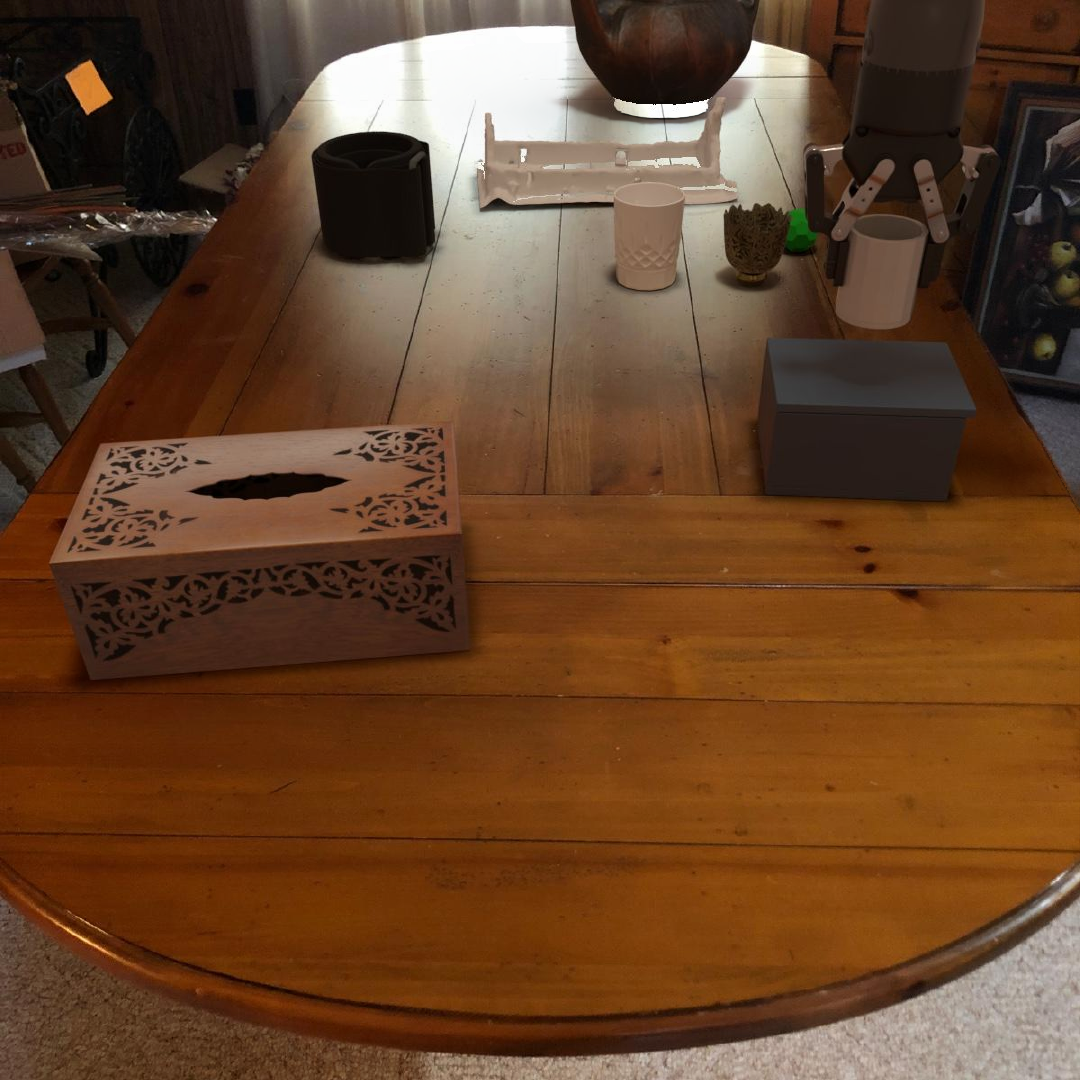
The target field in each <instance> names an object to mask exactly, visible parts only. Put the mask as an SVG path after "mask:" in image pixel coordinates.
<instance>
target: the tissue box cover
mask: <svg viewBox="0 0 1080 1080" xmlns="http://www.w3.org/2000/svg"><path fill="white" fill-rule="evenodd" d="M455 431H456V430H455V420H442V421H441V420H440V421H427V422H425V421H424V422H411V423H395V424H379V425H378V424H377V425H364V426H350V427H349V426H348V427H336V428H335V427H333V428H332V427H331V428H322V429H321V428H320V429H319V428H318V429H303V430H302V429H301V430H287V431H286V430H285V431H273V432H271V431H269V432H255V433H240V434H226V435H212V436H210V435H208V436H196V437H180V438H166V439H165V438H162V439H151V440H150V439H149V440H148V439H147V440H132V441H119V442H116V441H115V442H103V443H99V446H98V448H97V451H96V453H95V456H94V457H93V460H92V462H91V465H90V467H89V469H88V471H87V474H86V476H85V479H84V482H83V483H82V485H81V487H80V490H79V493H78V495H77V497H76V500H75V502H74V504H73V507H72V509H71V511H70V513H69V516H68V518H67V521H66V523H65V525H64V527H63V530H62V532H61V535H60V536H59V539H58V541H57V544H56V546H55V549H54V550H53V553H52V555H51V558H50V560H49V562H48V565H49V567H50V571H51V573H52V576H53V579H54V582H55V584H56V587H57V590H58V592H59V595H60V598H61V601H62V604H63V607H64V609H65V612H66V615H67V618H68V620H69V624H70V626H71V629H72V632H73V634H74V637H75V640H76V643H77V646H78V648H79V651H80V654H81V657H82V660H83V663H84V665H85V668H86V671H87V673H88V676H89V680H90V681H96V680H99V681H100V680H111V679H122V678H135V677H148V676H158V675H159V676H160V675H161V676H162V675H171V674H172V675H173V674H186V673H199V672H210V671H223V670H236V669H247V668H248V669H249V668H260V667H273V666H274V667H275V666H287V665H288V666H289V665H299V664H311V663H313V664H314V663H323V662H325V663H327V662H336V661H337V662H339V661H348V660H349V661H350V660H351V661H352V660H361V659H373V658H387V657H401V656H411V655H413V656H414V655H425V654H426V655H427V654H437V653H450V652H451V653H453V652H462V651H463V652H464V651H471V641H470V626H469V625H470V624H469V613H468V597H467V584H466V568H465V557H464V543H463V541H464V540H463V529H462V514H461V501H460V489H459V488H460V487H459V485H460V484H459V473H458V460H457V459H458V458H457V446H456V445H457V444H456V433H455Z"/></svg>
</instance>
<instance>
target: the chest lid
mask: <svg viewBox="0 0 1080 1080" xmlns="http://www.w3.org/2000/svg"><path fill="white" fill-rule="evenodd" d="M766 348H767V355H768V361H769V368H770V374H771V381H772V387H773V394H774V400H775V407H776V411H777V412H801V413H832V414H863V415H894V416H925V417H956V418H966V419H975V418H976V414H977V411H978V409H977V407H976V404H975V402H974V400H973V398H972V396H971V394H970V391H969V389H968V387H967V385H966V382H965V380H964V378H963V376H962V374H961V371H960V369H959V366H958V364H957V362H956V360H955V358H954V356H953V353H952V351H951V349H950V347H949V344H948V343H947V342H943V341H942V342H940V341H904V340H903V341H902V340H869V339H867V340H865V339H833V338H832V339H829V338H828V339H827V338H796V337H795V338H792V337H790V338H789V337H767V338H766V342H765V349H766Z"/></svg>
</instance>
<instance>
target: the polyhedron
mask: <svg viewBox="0 0 1080 1080" xmlns="http://www.w3.org/2000/svg"><path fill="white" fill-rule="evenodd" d="M788 211H789V215H790V214H791V218H792V219H791V223H790V227H789V231H788V235H787V239H786V244H785V247H784V248H786V249H788V250H789V251H790V252H791V253H802V252H805V251H807V250H809V249H810V248H812V247H813V246H815V243H816V240H817V238H818V235H819V233H820V232H818V233H813V232H811V231H810V230H809V228H808V222H807V220H806V217H805V208H794V209H792V210H788ZM811 245H812V246H811ZM808 246H809V247H808Z"/></svg>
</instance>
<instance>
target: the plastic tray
mask: <svg viewBox="0 0 1080 1080" xmlns="http://www.w3.org/2000/svg"><path fill="white" fill-rule="evenodd" d="M726 98H727V97H726V96H719V97H716V98H715V103H714V107H712V109H711V110H710V111H709V112H708V114H707V117H706V119H705V122H704V128H703V131H702V132H701V134H700V136H699V138H698V139H695V140H690V141H677V142H676V141H672V140H671V141H670V140H664V141H657V142H654V143H633V144H623V143H620V142H615V141H600V140H593V141H586V142H581V141H576V142H575V141H550V140H546V141H545V140H509V139H508V140H496V136H495V126H494V124H493V121H492V112H485V114H484V124H485V128H484V160H483V159H481V158H480V159H479V160H478V161H477V162H483V161H485V163H484V165H482V163H481V165H482V166H483V167H484V171H485V179H484V174H483V173H484V171H483V170H481V169H478V168H477V167H476V170H477V173H476V174H477V180H476V182H477V189H478V198H479V199H478V202H479V204H478V205H479V209H482V208H484V207H486V206H487V205H490V203H491V202H493V201H494V200H497V199H500V200H502V201H504V202H505V203H507V204H510V205H513V206H523V205H544V204H564V203H565V204H566V203H571V204H572V203H591V202H592V203H593V202H594V203H595V202H598V203H614V194H594V195H587V196H581V197H579V198H568V197H565V196H546V197H532V198H528V197H531V196H545V195H556V194H570V196H571V195H577V194H578V193H585V192H586V193H589V192H593V193H594V192H608V193H609V192H615V190H616V189H618V188H619V187H622V186H624V185H628V184H632V183H640V182H657V183H665V184H670V185H673V186H676V187H679V188H683V187H703V186H705V187H707V186H716V185H720V184H724V183H725V186H727V187H729V188H732V187H733V188H737V187H738V183H737V182H736V180H733V181H732V180H730V179H726V178H725V176H724V175H723V174H722V173H721V165H720V159H721V158H720V157H721V156H720V155H721V139H720V137H721V136H720V135H721V134H720V133H721V131H722V129H721V128H722V117H723V114H724V109H725V104H726ZM522 150H526V155H522ZM618 152H624V154H625V157H619V156H618V157H616V156H617V154H618ZM521 156H522V157H523V156H524V158H525V161H524V162H521ZM682 157H696V158H697V160H698V162H699V164H700V166H701V167H699V168H697V166H694V165H693V164H691V165H688V164H685V165H683V164H673V165H663V166H662V165H659V164H658V166H659V168H655V166H654V165H647V166H628V162H630V161H641V160H655V159H656V160H655V161H656V162H657V159H660V158H682ZM626 160H627V165H626ZM607 162H615V167H607V168H595V165H593V164H592V163H607ZM577 163H590V168H589V169H582V168H576V169H562V168H561V169H544V168H543V167H546V166H549V165H564V164H577ZM626 168H627V169H629V170H626ZM633 168H635V169H633ZM635 178H636V179H635ZM737 189H738V188H737ZM683 191H684V192H685V203H684V205H700V204H701V205H706V204H707V205H708V204H715V203H716V204H717V203H725V202H730V201H733V200H737V199H739V194H738V193H739V191H738V192H734V191H728V190H725V189H705V190H683ZM606 196H607V198H605V197H606ZM518 198H528V199H521V200H517V199H518ZM558 198H564V199H560V200H557V199H558ZM582 198H585V199H582ZM516 200H517V201H516ZM513 201H515V202H513Z"/></svg>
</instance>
